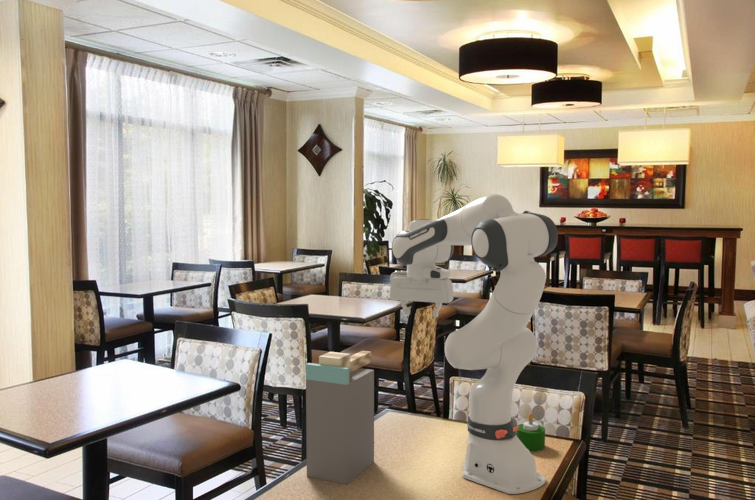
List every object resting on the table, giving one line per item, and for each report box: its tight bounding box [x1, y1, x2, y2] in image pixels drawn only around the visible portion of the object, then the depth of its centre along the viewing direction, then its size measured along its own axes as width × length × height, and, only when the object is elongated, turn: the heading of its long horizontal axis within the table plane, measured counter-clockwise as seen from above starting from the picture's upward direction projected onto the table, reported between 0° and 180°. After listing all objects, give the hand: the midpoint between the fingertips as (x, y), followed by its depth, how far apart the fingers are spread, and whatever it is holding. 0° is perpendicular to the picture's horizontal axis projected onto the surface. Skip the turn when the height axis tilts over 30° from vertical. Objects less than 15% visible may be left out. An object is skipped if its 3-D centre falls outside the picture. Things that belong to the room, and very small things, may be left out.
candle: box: [516, 413, 546, 453], centre depth 192 cm, size 8×8×10 cm
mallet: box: [318, 350, 372, 376], centre depth 178 cm, size 22×6×6 cm, turn 155°
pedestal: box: [305, 362, 375, 485], centre depth 175 cm, size 16×12×30 cm
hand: (421, 315), depth 202 cm, fingers open, 8 cm apart
